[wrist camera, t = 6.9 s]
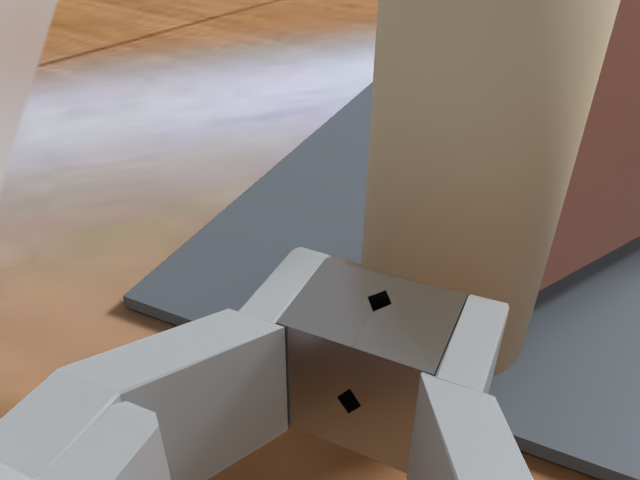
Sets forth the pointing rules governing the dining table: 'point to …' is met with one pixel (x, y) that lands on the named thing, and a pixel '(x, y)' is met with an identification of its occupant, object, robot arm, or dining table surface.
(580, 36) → the swing panel
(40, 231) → the dining table surface
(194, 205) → the dining table surface
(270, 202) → the board
